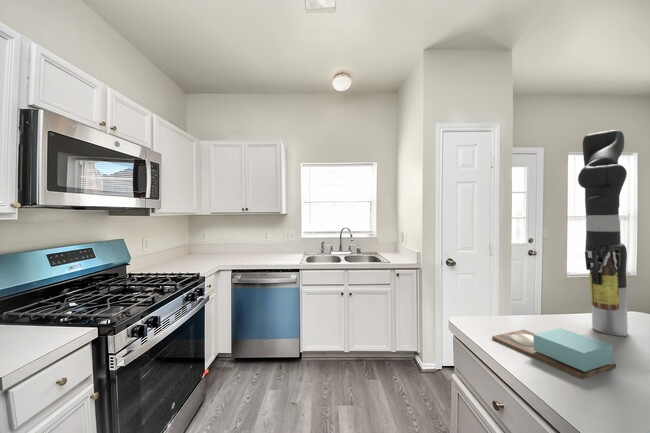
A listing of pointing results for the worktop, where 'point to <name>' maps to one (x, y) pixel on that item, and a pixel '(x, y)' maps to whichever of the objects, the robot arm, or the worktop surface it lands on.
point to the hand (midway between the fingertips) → (603, 283)
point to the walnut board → (525, 344)
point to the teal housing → (573, 349)
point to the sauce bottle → (606, 287)
